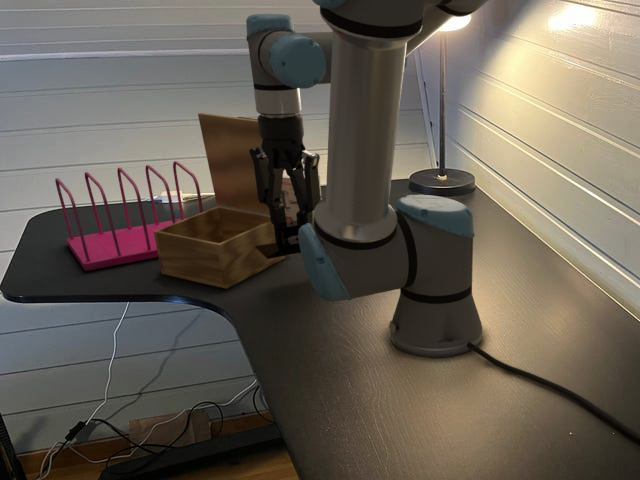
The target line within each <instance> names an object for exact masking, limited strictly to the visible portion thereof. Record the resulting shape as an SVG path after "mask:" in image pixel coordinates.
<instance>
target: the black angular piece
mask: <svg viewBox="0 0 640 480" xmlns="http://www.w3.org/2000/svg"><path fill="white" fill-rule="evenodd" d="M290 224H291V225H290ZM290 224H289V223H287V222H285V223H279V225H280V228H279V232H278V234H279V238H280V243H276V242H275V243H270V244H264V245H258V246H255V247H256V249H257V250H258V251H259V252H260V253H262V254H263V255H264V256H265V257H266V258H267V259H271V258H277V257H282V256H285V257H288V256H293V255H298V254H301V250H300V245H299V237H295V238H291V237H294V236H298V225H297V221H291V222H290ZM286 238H288V240H287V239H286Z"/></svg>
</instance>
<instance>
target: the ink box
mask: <svg viewBox="0 0 640 480" xmlns="http://www.w3.org/2000/svg"><path fill="white" fill-rule="evenodd" d="M303 174H304V172H303ZM304 178H305V176H304ZM319 187H320V198H321V200H322V199H323V198H322V187H321V177H320V175H319ZM281 201H282V202H283V203H282V204H280V206H281V205H282V206H285V215H286V222H287V223H289V224H290V222H291V221H297V216H296V213H297V212H298V211H300V210H299V207H298V203H297V200H296V197H295V193H294V190H293V186H292V183H291V180H290V177H289V176H288V175H287V173H286V170H284V171H283V179H282V191H281ZM312 218H313V223H314V211H312ZM290 225H291V224H290Z"/></svg>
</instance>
